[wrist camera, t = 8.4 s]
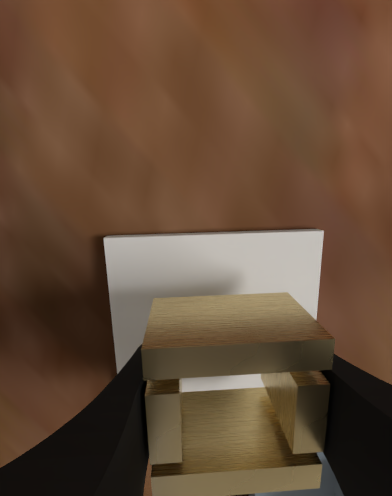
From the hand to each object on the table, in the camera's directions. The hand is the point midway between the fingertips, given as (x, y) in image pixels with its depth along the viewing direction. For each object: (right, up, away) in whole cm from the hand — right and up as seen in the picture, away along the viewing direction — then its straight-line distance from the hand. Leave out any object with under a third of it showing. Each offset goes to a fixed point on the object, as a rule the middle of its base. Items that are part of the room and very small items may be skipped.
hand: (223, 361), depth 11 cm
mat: (0, +1, +3) cm, 3 cm away
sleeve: (0, 0, 0) cm, 0 cm away
